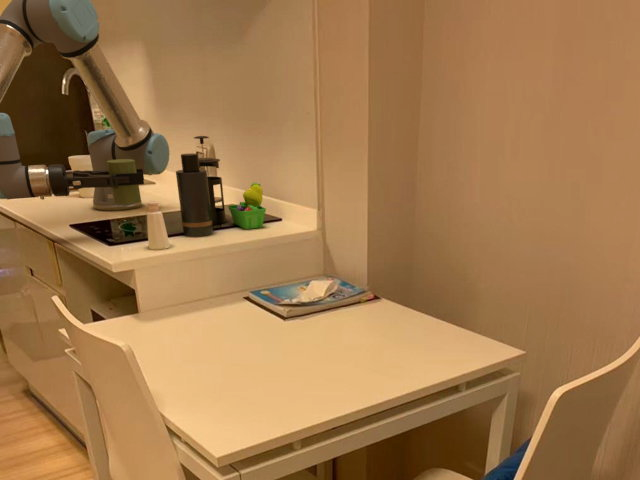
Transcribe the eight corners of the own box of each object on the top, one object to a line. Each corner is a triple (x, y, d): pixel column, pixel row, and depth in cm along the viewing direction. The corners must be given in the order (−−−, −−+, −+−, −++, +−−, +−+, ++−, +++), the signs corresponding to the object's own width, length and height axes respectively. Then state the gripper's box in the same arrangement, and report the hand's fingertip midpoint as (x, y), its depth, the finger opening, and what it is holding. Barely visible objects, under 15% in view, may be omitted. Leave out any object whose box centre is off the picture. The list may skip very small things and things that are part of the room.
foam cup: (106, 196, 247) (99, 156, 240) (80, 199, 242) (72, 158, 236) (98, 193, 254) (91, 154, 247) (73, 195, 249) (65, 156, 243)
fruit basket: (228, 224, 201) (224, 182, 196) (256, 220, 205) (253, 180, 199) (243, 230, 193) (239, 187, 187) (272, 227, 196) (269, 184, 191)
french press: (231, 223, 201) (222, 136, 190) (199, 226, 198) (188, 138, 186) (220, 217, 211) (211, 133, 199) (189, 219, 207) (179, 135, 196)
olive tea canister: (112, 200, 184) (105, 160, 179) (138, 198, 187) (132, 158, 182) (116, 204, 179) (108, 163, 174) (143, 202, 181) (136, 161, 176)
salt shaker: (156, 250, 173) (149, 204, 167) (144, 247, 176) (137, 202, 170) (174, 246, 176) (168, 201, 171) (162, 243, 179) (155, 199, 174)
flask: (180, 232, 192) (170, 153, 182) (209, 229, 195) (201, 152, 185) (187, 237, 185) (177, 156, 175) (216, 235, 188) (208, 155, 178)
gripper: (58, 190, 186) (145, 186, 191) (49, 203, 170) (145, 197, 174) (51, 160, 183) (141, 156, 187) (41, 170, 166) (140, 165, 171)
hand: (143, 176), depth 181 cm, fingers closed on olive tea canister, 7 cm apart
